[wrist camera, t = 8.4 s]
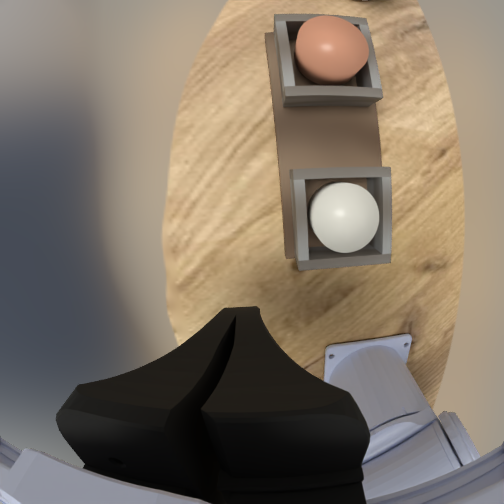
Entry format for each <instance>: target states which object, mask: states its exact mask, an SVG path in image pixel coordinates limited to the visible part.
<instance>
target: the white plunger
mask: <svg viewBox="0 0 504 504" xmlns="http://www.w3.org/2000/svg"><path fill="white" fill-rule="evenodd" d="M307 218H308V222H309V225H310V227H311V229H312V230H313V232H314V233H315V234H316V236H317V237H318V238H319V240H320V241H321V242H322V243H323V244H324V245H325V246H326V247H328V248H329V249H331V250H333V251H336V252H341V253H350V252H354V251H357V250H360V249H361V248H363V247H364V246H366V245H367V244H368V243H369V242H370V241H371V240H372V238H373V237H374V235H375V233H376V231H377V228H378V225H379V210H378V206H377V203H376V201H375V199H374V198H373V196H372V195H371V194H370V193H369V192H368V191H367V190H366V189H364V188H363V187H361V186H359V185H356V184H351V183H345V182H330V183H327V184H324V185H323V186H321V187H320V188H318V189H317V190H316V191H315V192H314V193H313V195H312V196H311V198H310V200H309V203H308V208H307Z"/></svg>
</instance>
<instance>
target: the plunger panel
mask: <svg viewBox="0 0 504 504" xmlns="http://www.w3.org/2000/svg"><path fill="white" fill-rule="evenodd" d="M317 16H334V17H338V18H342V19H344V20H346V21H348V22H350V23H351V24H353V25H354V26H355V27H357V28H358V29H359V30H360V31H361V33H362V34H363V35H364V37H365V38H366V41H367V43H368V47H369V56H368V59H367V62H366V63H365V65H364V66H363V67H362V68H361V69H360V70H359V71H358V72H357V73H356V74H355V75H354V76H353V78H352V79H351V80H349V81H348V82H347V83H345V84H342V85H339V86H323V85H320V84H317V83H314V82H312V81H311V80H309V79H308V78H306V77H305V76H304V75H303V74H302V73H301V72H300V71H299V69H298V68H297V66H296V63H295V60H294V49H295V45H296V40H297V35H298V32H299V29H300V27H301V26H302V25H303V24H304V23H305V22H306V21H307V20H309V19H311V18H314V17H317ZM265 44H266V52H267V60H268V68H269V76H270V85H271V94H272V103H273V112H274V122H275V132H276V142H277V153H278V164H279V176H280V188H281V201H282V214H283V229H284V244H285V256H286V259H291V258H295V259H296V262H297V266H298V269H299V271H301V270H314V269H327V268H339V267H351V266H362V265H374V264H384V263H391V243H392V187H391V167H382V161H381V148H380V137H379V127H378V119H377V111H376V104H375V102H377V101H379V100H380V99H382V98H383V93H382V87H381V81H380V75H379V70H378V65H377V60H376V56H375V51H374V47H373V43H372V39H371V35H370V31H369V27H368V23H367V20H366V18H359V17H350V16H340V15H324V14H274V32H270V33H265ZM330 182H345V183H351V184H356V185H359V186H361V187H363V188H364V189H366V190H367V191H368V192H369V193H370V194H371V195H372V196H373V198H374V199H375V201H376V203H377V206H378V210H379V225H378V228H377V231H376V233H375V235H374V237H373V238H372V240H371V241H370V242H369V243H368V244H367V245H366V246H364V247H363V248H361V249H360V250H357V251H354V252H350V253H341V252H336V251H333V250H331V249H329V248H328V247H326V246H325V245H324V244H323V243H322V242H321V241H320V240H319V238H318V237H317V236H316V234H315V233H314V232H313V230H312V229H311V227H310V225H309V222H308V218H307V208H308V203H309V200H310V198H311V196H312V195H313V193H314V192H315V191H316V190H317V189H318V188H320V187H321V186H323V185H324V184H327V183H330Z"/></svg>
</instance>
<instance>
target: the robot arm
mask: <svg viewBox="0 0 504 504" xmlns="http://www.w3.org/2000/svg"><path fill="white" fill-rule="evenodd" d="M411 341H412V337H411V335H410V334H402V335H396V336H390V337H384V338H378V339H372V340H365V341H358V342H350V343H342V344H333V345H329V346H327V348H326V350H325V367H324V381H322V380H321V379H319V378H317V377H315V376H314V375H312V374H310V373H309V372H307V371H306V370H305V369H303V368H302V367H300V366H299V365H298V364H297V363H295V362H294V361H293V360H292V359H291V358H290V357H289V356H288V355H287V354H286V353H285V352H284V351H283V350H282V349H281V348H280V347H279V345H278V344H277V343H276V341H275V340H274V339H273V337H272V336H271V335H270V333H269V331H268V330H267V328H266V326H265V325H264V323H263V320H262V318H261V315H260V309H259V308H258V307H257V306H253V307H235V308H224V309H222V310H221V311H220V312H219V313H218V314H217V315H216V316H215V317H214V318H213V319H212V320H211V321H209V322H208V323H207V324H206V325H205V326H204V327H203V328H202V329H201V330H199V331H198V332H197V333H196V334H194V335H193V336H192V337H191V338H189V339H188V340H187V341H186V342H184V343H183V344H182V345H180V346H179V347H177V348H176V349H174V350H173V351H171V352H169V353H168V354H166V355H164V356H163V357H161V358H159V359H157V360H155V361H153V362H151V363H148V364H146V365H144V366H142V367H140V368H138V369H135V370H132V371H130V372H127V373H124V374H121V375H118V376H115V377H112V378H108V379H104V380H99V381H95V382H90V383H86V384H80V385H78V386H77V387H76V388H75V390H74V391H73V392H72V394H71V395H70V396H69V398H68V399H67V400H66V402H65V403H64V404H63V406H62V407H61V409H60V410H59V412H58V413H57V414H56V422H57V425H58V428H59V431H60V432H61V434H62V435H63V437H64V438H65V440H66V441H67V442H68V444H69V445H70V446H71V447H72V449H73V450H74V451H75V452H76V454H77V455H78V456H79V457H80V459H81V460H82V461H83V462H84V463H85V465H84V467H83V468H80V467H77V466H75V465H72V464H70V463H67V462H65V461H63V460H60V459H58V458H56V457H53V456H51V455H49V454H47V453H45V452H42V451H38V450H35V449H32V448H25V449H24V450H23V451H22V450H20V449H18V448H17V447H15V446H13V445H12V444H10V443H8V442H7V441H5V440H4V439H2V438H1V437H0V501H1V502H2V503H3V504H504V442H503V444H502V445H501V446H499V447H498V448H496V449H494V450H493V451H491V452H489V453H487V454H486V455H484V456H482V457H480V455H479V453H478V451H477V449H476V447H475V445H474V444H473V442H472V440H471V438H470V436H469V435H468V433H467V431H466V429H465V428H464V426H463V425H462V423H461V421H460V420H459V418H458V416H457V415H456V413H454V412H448V413H447V411H443V412H442V413H441V414H440V415H439V416H438V417H439V419H440V421H441V422H440V421H439V419H438V418H437V416H436V415H435V413H434V412H433V410H432V409H431V407H430V405H429V404H428V402H427V400H426V398H425V397H424V395H423V393H422V391H421V390H420V388H419V386H418V384H417V383H416V381H415V379H414V378H413V376H412V374H411V373H410V371H409V369H408V368H407V366H406V363H407V358H408V354H409V350H410V345H411ZM405 343H407V344H406V345H404V344H405ZM331 354H334V355H333V356H329V355H331Z"/></svg>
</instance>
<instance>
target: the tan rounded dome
mask: <svg viewBox="0 0 504 504" xmlns="http://www.w3.org/2000/svg"><path fill="white" fill-rule="evenodd" d="M368 56H369V47H368V43H367V41H366V38H365V37H364V35H363V34H362V33H361V31H360V30H359V29H358V28H357V27H355V26H354V25H353V24H351V23H350V22H348V21H346V20H344V19H342V18H338V17H334V16H317V17H314V18H311V19H309V20H307V21H306V22H305V23H304V24H303V25H302V26H301V27H300V29H299V32H298V35H297V40H296V45H295V49H294V60H295V63H296V66H297V68H298V69H299V71H300V72H301V73H302V74H303V75H304V76H305V77H306V78H308V79H309V80H311V81H312V82H314V83H317V84H320V85H323V86H339V85H342V84H345V83H347V82H348V81H349V80H351V79H352V78H353V76H354V75H355V74H356V73H357V72H358V71H359V70H360V69H361V68H362V67H363V66H364V65H365V63H366V62H367V59H368Z"/></svg>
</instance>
